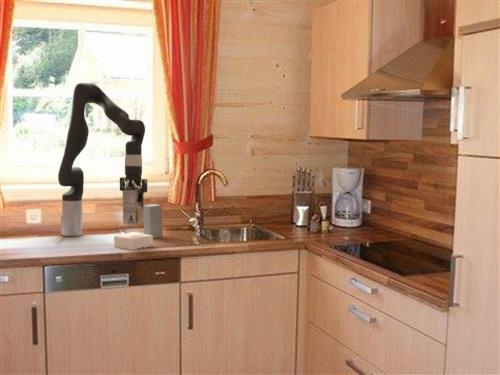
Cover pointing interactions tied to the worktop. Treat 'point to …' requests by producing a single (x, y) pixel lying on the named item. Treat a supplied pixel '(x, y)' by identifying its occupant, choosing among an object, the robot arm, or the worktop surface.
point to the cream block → (133, 240)
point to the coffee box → (132, 207)
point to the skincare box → (153, 220)
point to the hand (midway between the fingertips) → (133, 201)
